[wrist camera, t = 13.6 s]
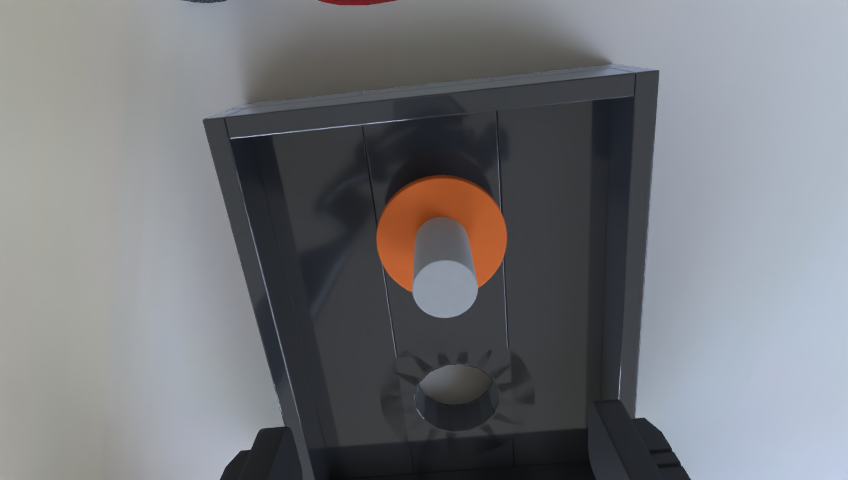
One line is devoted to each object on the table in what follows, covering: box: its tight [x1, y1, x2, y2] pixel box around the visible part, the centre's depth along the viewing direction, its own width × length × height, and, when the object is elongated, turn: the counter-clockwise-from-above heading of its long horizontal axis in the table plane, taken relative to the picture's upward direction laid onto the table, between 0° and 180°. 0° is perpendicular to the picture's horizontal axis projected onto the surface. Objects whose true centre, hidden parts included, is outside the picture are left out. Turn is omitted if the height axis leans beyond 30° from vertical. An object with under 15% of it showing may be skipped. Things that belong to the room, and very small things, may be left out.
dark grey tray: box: [203, 66, 659, 480], centre depth 28 cm, size 20×26×3 cm
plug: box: [376, 175, 507, 318], centre depth 23 cm, size 6×6×8 cm
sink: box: [230, 64, 629, 480], centre depth 30 cm, size 20×26×2 cm
